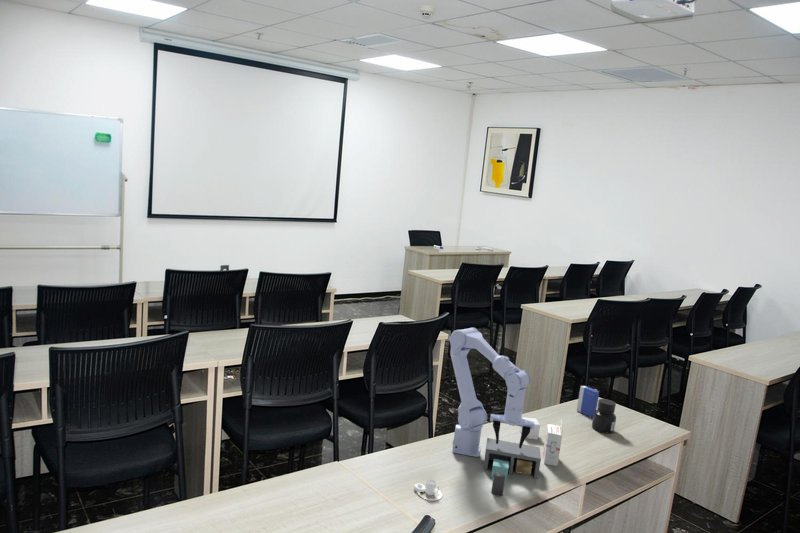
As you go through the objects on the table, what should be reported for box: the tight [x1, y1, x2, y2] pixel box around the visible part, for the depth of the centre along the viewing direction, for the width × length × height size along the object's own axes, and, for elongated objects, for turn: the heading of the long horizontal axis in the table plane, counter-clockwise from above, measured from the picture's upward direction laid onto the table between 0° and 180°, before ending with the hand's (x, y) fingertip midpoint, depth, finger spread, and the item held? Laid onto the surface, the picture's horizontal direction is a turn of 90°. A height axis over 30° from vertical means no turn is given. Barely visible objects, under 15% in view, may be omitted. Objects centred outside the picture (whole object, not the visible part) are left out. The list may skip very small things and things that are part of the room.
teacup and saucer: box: [413, 479, 443, 502], centre depth 177 cm, size 9×8×4 cm
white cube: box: [519, 416, 541, 440], centre depth 229 cm, size 6×6×6 cm
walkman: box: [576, 385, 600, 418], centre depth 258 cm, size 8×3×12 cm, turn 39°
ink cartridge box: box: [542, 418, 563, 467], centre depth 208 cm, size 9×5×15 cm, turn 168°
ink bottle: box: [591, 398, 617, 434], centre depth 242 cm, size 10×9×12 cm
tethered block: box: [490, 459, 509, 497], centre depth 187 cm, size 5×16×6 cm, turn 167°
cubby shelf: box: [483, 437, 542, 480], centre depth 199 cm, size 18×9×7 cm, turn 79°
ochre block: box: [514, 458, 533, 476], centre depth 199 cm, size 5×5×4 cm
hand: (508, 444), depth 197 cm, fingers open, 7 cm apart
